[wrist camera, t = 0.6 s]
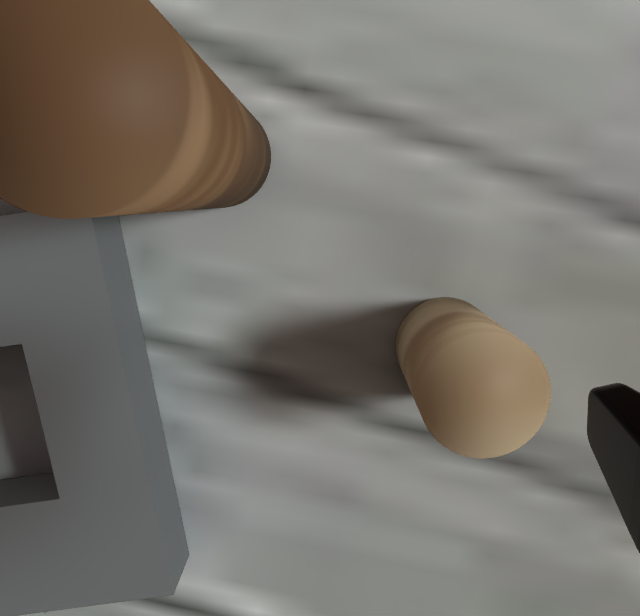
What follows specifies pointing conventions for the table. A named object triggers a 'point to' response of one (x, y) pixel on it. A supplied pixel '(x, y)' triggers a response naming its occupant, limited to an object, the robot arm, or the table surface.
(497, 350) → the short beech pin
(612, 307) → the table surface
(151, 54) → the walnut pin
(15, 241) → the slate hole plate
